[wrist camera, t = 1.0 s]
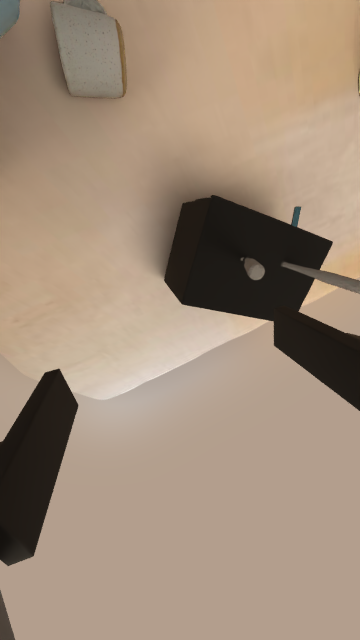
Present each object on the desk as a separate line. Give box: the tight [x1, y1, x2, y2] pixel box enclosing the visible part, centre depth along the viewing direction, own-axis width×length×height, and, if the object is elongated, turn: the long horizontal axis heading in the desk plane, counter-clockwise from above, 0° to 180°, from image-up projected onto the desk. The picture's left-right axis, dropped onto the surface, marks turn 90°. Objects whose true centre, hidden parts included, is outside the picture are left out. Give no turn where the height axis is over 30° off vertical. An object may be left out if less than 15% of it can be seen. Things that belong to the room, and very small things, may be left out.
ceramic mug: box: [50, 0, 127, 98], centre depth 28 cm, size 11×8×8 cm
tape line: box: [292, 207, 301, 227], centre depth 52 cm, size 2×20×1 cm, turn 1°
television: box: [164, 195, 360, 321], centre depth 36 cm, size 23×30×21 cm
